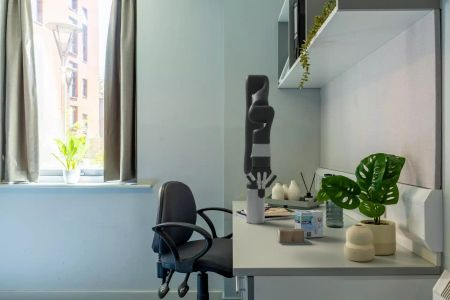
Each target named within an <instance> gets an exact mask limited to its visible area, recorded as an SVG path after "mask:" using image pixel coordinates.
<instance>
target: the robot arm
mask: <svg viewBox="0 0 450 300" xmlns="http://www.w3.org/2000/svg"><path fill="white" fill-rule="evenodd" d="M244 85H245V87H244V89H245V90H244V91H245V117H244V118H245V120H244V122H245V123H244V154H243V156H244V157H243V172H244V174H245V178H246V179H247V180H248V182H247V183H246V218H245V219H246V223H247V224H255V225H258V224H260V225H261V224H264V223H265V216H266V215H265V213H266V211H265V209H266V208H265V207H266V205H265V203H266V201H265V197H266V189H268V188H270V186H271V185H272V184H273V183H274V182H275V180H276V179H277V177H278V175H276V174H274V173H273V171H272V169H271V168H272V167H271V165H272V164H271V163H272V159H271V156H272V152H271V150H272V149H271V130H272V126H273V122H274V119H275V115H276V114H275V113H276V111H275V109H274V107H273V106H272V105H270V104H269V93H270V79H269V77H268V76H267V75H265V74H248V75H246V77H245V84H244ZM269 177H270V179H269V180H268V178H269ZM252 178H254V179H252ZM267 180H268V181H267Z"/></svg>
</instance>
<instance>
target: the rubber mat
mask: <svg viewBox="0 0 450 300" xmlns="http://www.w3.org/2000/svg"><path fill="white" fill-rule="evenodd" d="M280 244H281V246H295V245H296V246H299V245H301V246H303V245H310V246H311V245H313V243H312V242H311V241H309V239H308V238H304V242H282V243H280Z"/></svg>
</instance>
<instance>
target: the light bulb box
mask: <svg viewBox="0 0 450 300" xmlns="http://www.w3.org/2000/svg"><path fill="white" fill-rule="evenodd" d="M294 229H302V230H303V231H304V238H306V239H308V238H322V237H324V211H321V210H318V209H310V210H295V211H294Z"/></svg>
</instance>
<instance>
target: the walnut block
mask: <svg viewBox="0 0 450 300" xmlns="http://www.w3.org/2000/svg"><path fill="white" fill-rule="evenodd" d="M276 231H277V233H276V234H277V235H276V239H277V242H278V243H280V244H281V243H282V242H304V231H303V230H302V229H295V228H277V229H276Z"/></svg>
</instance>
